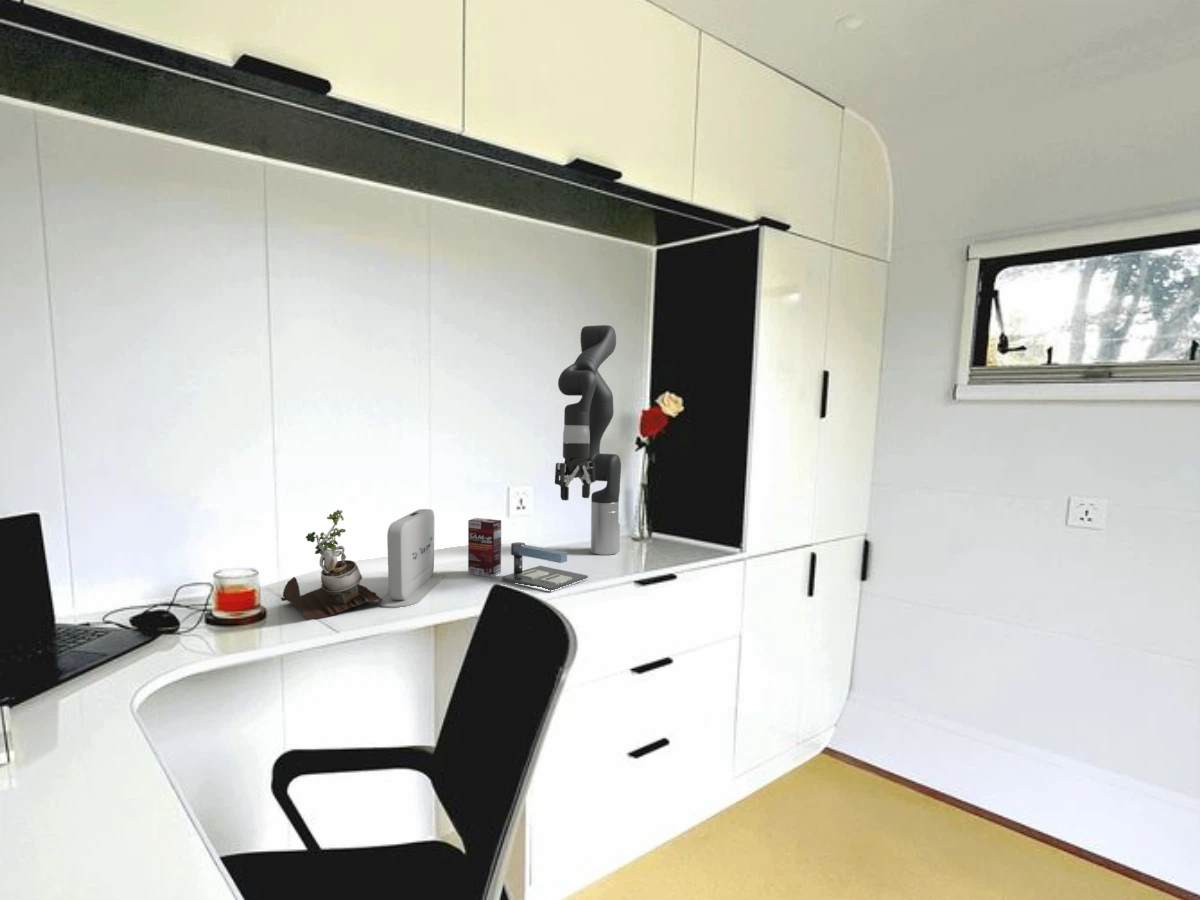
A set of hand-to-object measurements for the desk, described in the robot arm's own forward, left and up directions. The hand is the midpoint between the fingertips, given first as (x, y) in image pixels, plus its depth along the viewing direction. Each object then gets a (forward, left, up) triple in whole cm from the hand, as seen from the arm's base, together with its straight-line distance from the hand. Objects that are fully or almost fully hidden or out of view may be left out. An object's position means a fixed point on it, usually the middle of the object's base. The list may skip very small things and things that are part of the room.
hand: (575, 499), depth 179 cm
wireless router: (+36, -26, -23) cm, 50 cm away
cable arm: (+9, -6, -16) cm, 19 cm away
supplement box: (+13, -23, -23) cm, 35 cm away
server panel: (+7, -5, -23) cm, 24 cm away
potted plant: (+57, -30, -23) cm, 68 cm away
